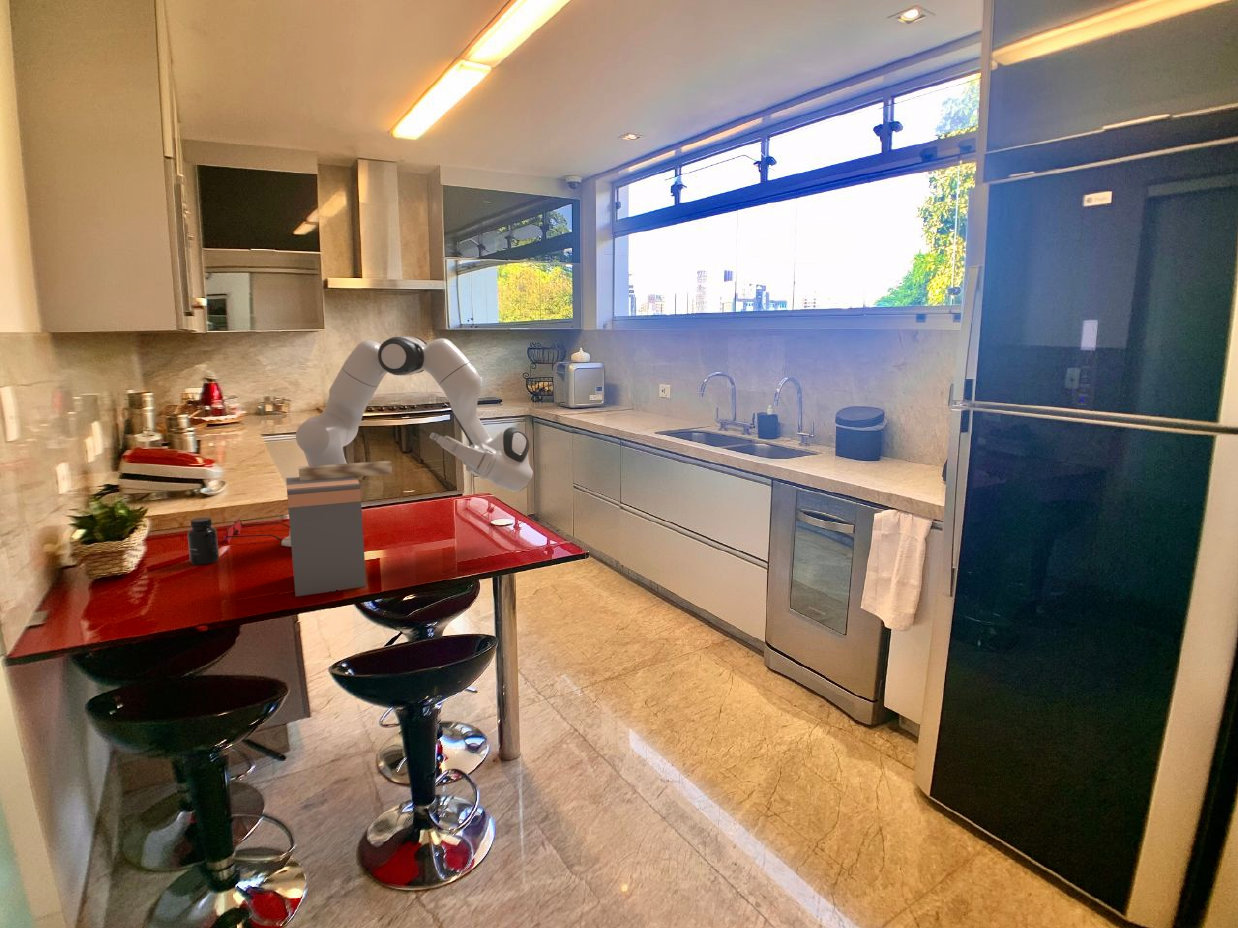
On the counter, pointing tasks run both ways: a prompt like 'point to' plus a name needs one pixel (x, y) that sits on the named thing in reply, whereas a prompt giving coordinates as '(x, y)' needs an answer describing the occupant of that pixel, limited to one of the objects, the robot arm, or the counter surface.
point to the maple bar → (345, 470)
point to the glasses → (238, 529)
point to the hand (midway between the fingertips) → (434, 437)
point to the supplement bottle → (202, 542)
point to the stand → (326, 534)
